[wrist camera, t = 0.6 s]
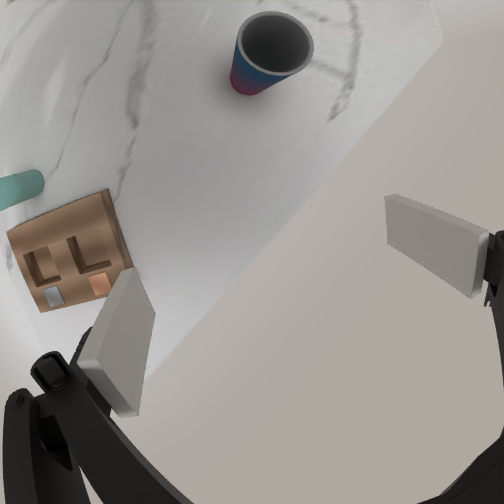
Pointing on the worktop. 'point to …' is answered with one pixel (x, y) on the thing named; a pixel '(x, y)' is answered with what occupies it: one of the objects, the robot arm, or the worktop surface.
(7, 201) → the plug
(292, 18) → the cup
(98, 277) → the socket board
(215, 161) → the worktop surface
